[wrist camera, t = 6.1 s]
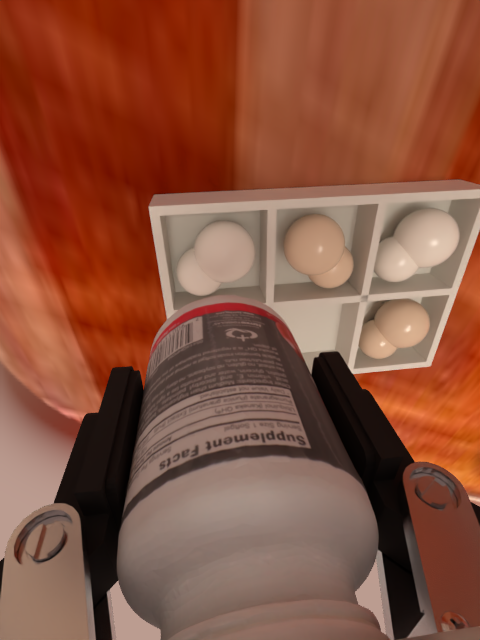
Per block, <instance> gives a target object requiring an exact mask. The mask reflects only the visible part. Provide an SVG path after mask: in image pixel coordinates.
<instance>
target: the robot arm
mask: <svg viewBox="0 0 480 640" xmlns="http://www.w3.org/2000/svg"><path fill="white" fill-rule="evenodd" d="M311 376H312V378H313V380H314V382H315V384H316V386H317V389H318V391H319V393H320V395H321V398H322V400H323V402H324V405H325V407H326V409H327V411H328V413H329V415H330V417H331V419H332V421H333V424H334V426H335V428H336V430H337V432H338V434H339V436H340V439H341V441H342V443H343V445H344V447H345V449H346V451H347V453H348V455H349V457H350V459H351V461H352V463H353V465H354V467H355V469H356V471H357V473H358V474H359V476H360V478H361V479H362V481H363V484H364V486H365V489H366V492H367V494H368V498H369V500H370V503H371V506H372V509H373V511H374V514H375V517H376V521H377V526H378V534H379V541H378V550H377V555H376V559H377V567H378V575H379V583H380V591H381V598H382V606H383V614H384V622H385V630H386V635H387V636H388V637H389V639H390V640H480V507H479V506H477V505H475V504H474V503H472V502H470V500H469V497H468V495H467V493H466V491H465V489H464V487H463V485H462V484H461V483H460V482H459V481H458V479H457V478H456V477H455V476H454V475H452V474H451V473H450V472H448V471H447V470H446V469H444V468H442V467H440V466H438V465H435V464H432V463H428V462H414V460H413V459H412V457H411V455H410V454H409V452H408V451H407V449H406V448H405V446H404V444H403V443H402V441H401V440H400V438H399V437H398V435H397V434H396V432H395V430H394V429H393V427H392V426H391V424H390V423H389V421H388V420H387V418H386V416H385V415H384V413H383V412H382V410H381V409H380V407H379V406H378V404H377V402H376V401H375V399H374V398H373V396H372V395H371V393H370V392H369V391H368V390H366V389H362V388H361V387H360V385H359V383H358V382H357V380H356V379H355V377H354V375H353V374H352V372H351V371H350V369H349V367H348V366H347V364H346V362H345V361H344V359H343V358H342V356H341V354H340V353H339V352H338V351H333V352H321V353H320V354H319V356H318V357H315V358H314V360H313V366H312V373H311ZM143 392H144V390H143V385H142V380H141V375H140V371H134V370H133V367H132V366H130V367H116V368H113V369H112V371H111V374H110V377H109V380H108V384H107V387H106V390H105V393H104V397H103V400H102V403H101V406H100V410H99V413H88V414H86V415H85V416H84V419H83V421H82V424H81V427H80V430H79V432H78V435H77V438H76V441H75V444H74V447H73V449H72V452H71V455H70V458H69V461H68V464H67V467H66V469H65V472H64V475H63V479H62V481H61V484H60V486H59V490H58V492H57V495H56V498H55V501H54V504H51V505H47V506H44V507H42V508H40V509H38V510H36V511H34V512H33V513H31V514H30V515H29V516H27V517H26V518H25V519H24V520H23V521H22V522H21V523H20V524H19V525H18V526H17V528H16V529H15V530H14V531H13V533H12V535H11V537H10V539H9V541H8V543H7V547H6V551H5V558H3V559H2V560H1V561H0V640H116V635H115V626H114V618H113V611H112V602H111V594H110V588H111V587H112V586H113V585H114V584H115V583H116V582H117V581H118V576H117V551H118V537H119V531H120V527H121V522H122V516H123V510H124V505H125V491H126V486H127V483H128V480H129V476H130V469H131V463H132V457H133V452H134V446H135V440H136V434H137V428H138V422H139V415H140V410H141V404H142V397H143Z"/></svg>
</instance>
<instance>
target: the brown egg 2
mask: <svg viewBox="0 0 480 640" xmlns="http://www.w3.org/2000/svg"><path fill="white" fill-rule="evenodd" d="M429 327H430V319H429V316H428V313H427V311H426V310H425V308H424V307H423V306H422V305H421V304H420V303H418V302H416V301H414V300H412V299H409V298H405V299H393V300H389V301H387V302H385V303H384V304H383V305H382V306H381V307H380V308H379V309H378V310H377V312H376V315H375V318H374V320H370V321H368V322H366V323H365V324H363V325H362V330H361V334H360V339H359V344H358V346H359V348H360V349H361V351H362V352H363V353H364V354H365V355H367V356H369V357H371V358H375V359H383V358H386V357H389V356H391V355H392V354H393V353H394V352H395V351H396V350H397V348H408V347H412V346H414V345H416V344H418V343H419V342H421V341H422V340H423V339H424V338H425V336H426V335H427V333H428V331H429Z"/></svg>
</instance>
